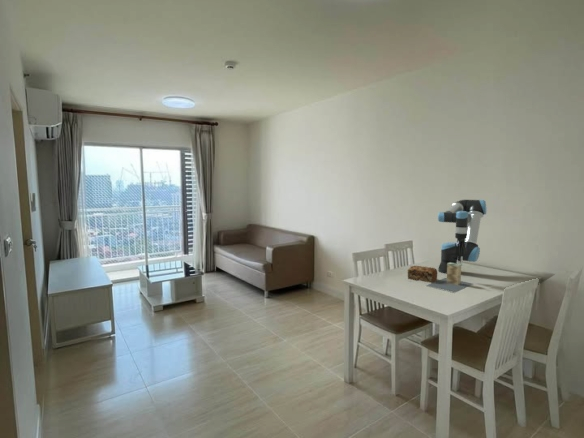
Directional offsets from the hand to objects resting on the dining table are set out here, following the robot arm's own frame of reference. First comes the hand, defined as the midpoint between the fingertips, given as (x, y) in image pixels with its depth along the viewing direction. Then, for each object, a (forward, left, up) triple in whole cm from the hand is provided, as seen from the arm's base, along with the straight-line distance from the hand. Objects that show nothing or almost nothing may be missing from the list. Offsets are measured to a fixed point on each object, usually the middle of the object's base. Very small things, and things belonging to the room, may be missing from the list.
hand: (459, 265), depth 243 cm
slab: (0, -9, -12) cm, 14 cm away
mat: (0, -14, -12) cm, 18 cm away
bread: (-21, -15, -13) cm, 28 cm away
